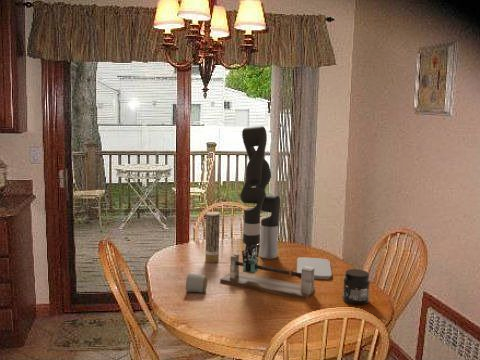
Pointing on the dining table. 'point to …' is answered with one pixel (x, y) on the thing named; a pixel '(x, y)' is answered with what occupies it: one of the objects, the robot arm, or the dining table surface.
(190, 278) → the ceramic mug
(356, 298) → the supplement container
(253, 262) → the sleeve
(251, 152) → the robot arm
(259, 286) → the stand
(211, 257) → the paper tube
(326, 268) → the tablet
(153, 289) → the dining table surface
